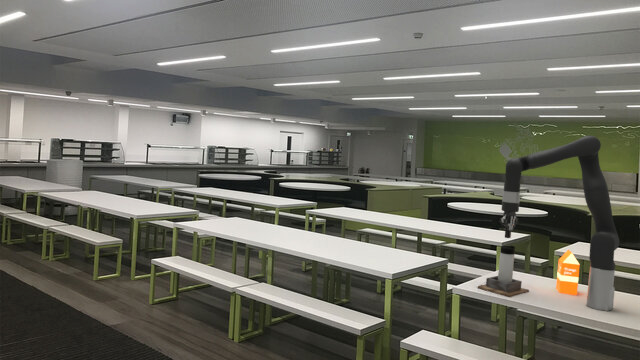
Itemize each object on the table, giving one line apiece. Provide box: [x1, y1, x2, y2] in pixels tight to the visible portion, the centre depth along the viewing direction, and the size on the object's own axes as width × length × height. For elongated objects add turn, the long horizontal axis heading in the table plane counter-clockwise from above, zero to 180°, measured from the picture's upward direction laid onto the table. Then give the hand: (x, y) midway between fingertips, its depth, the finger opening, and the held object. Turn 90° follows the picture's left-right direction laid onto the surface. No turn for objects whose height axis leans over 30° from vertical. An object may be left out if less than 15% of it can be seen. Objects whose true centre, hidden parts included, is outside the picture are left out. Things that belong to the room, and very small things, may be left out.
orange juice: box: [555, 249, 581, 296], centre depth 226 cm, size 8×9×20 cm
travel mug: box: [497, 245, 516, 283], centre depth 221 cm, size 6×7×20 cm
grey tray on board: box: [477, 275, 530, 298], centre depth 221 cm, size 16×18×5 cm
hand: (507, 237), depth 220 cm, fingers closed
